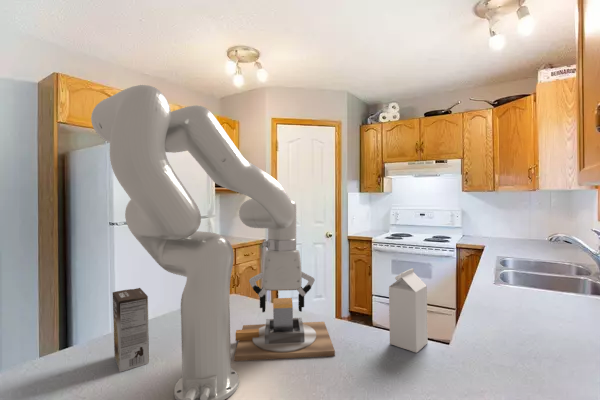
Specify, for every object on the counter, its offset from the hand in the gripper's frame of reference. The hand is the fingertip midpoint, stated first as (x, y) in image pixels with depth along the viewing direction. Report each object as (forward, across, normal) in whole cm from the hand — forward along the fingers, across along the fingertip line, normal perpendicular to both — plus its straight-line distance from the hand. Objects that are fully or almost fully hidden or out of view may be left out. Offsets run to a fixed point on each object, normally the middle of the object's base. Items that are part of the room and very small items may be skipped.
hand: (282, 310), depth 83 cm
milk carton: (+8, +33, -4) cm, 34 cm away
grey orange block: (+7, 0, +1) cm, 7 cm away
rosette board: (+8, +1, +1) cm, 9 cm away
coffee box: (+10, -36, -5) cm, 38 cm away
